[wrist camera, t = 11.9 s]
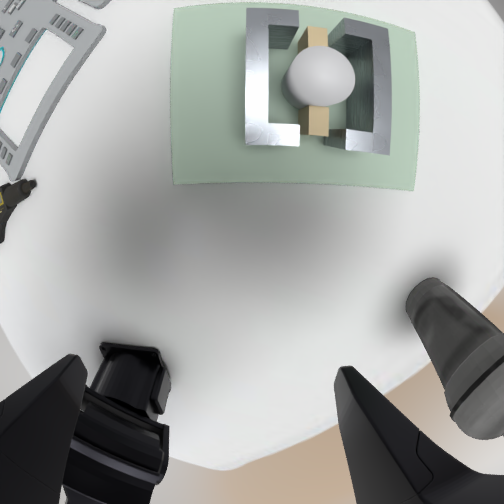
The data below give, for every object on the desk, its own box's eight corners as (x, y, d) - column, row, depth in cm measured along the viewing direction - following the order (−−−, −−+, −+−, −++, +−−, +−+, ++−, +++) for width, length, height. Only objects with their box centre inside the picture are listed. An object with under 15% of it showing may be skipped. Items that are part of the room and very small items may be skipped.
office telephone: (57, -75, 2) (181, -53, 8) (68, -67, 5) (188, -36, 10) (-60, 103, 9) (1, 199, 15) (-46, 101, 11) (20, 191, 17)
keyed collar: (245, 142, 15) (245, 145, 11) (246, 34, 12) (246, 7, 9) (359, 148, 15) (389, 155, 12) (360, 46, 12) (388, 28, 9)
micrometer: (-19, 253, 18) (-33, 210, 16) (-8, 246, 19) (-22, 205, 17) (38, 229, 17) (21, 171, 15) (51, 221, 18) (35, 166, 16)
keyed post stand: (178, 181, 17) (152, 200, 12) (178, 14, 12) (155, -19, 7) (405, 187, 17) (447, 208, 13) (406, 36, 12) (447, 18, 8)
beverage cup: (461, 290, 21) (569, 432, 3) (413, 339, 24) (493, 499, 6) (436, 248, 19) (588, 422, 1) (379, 307, 22) (479, 518, 4)
